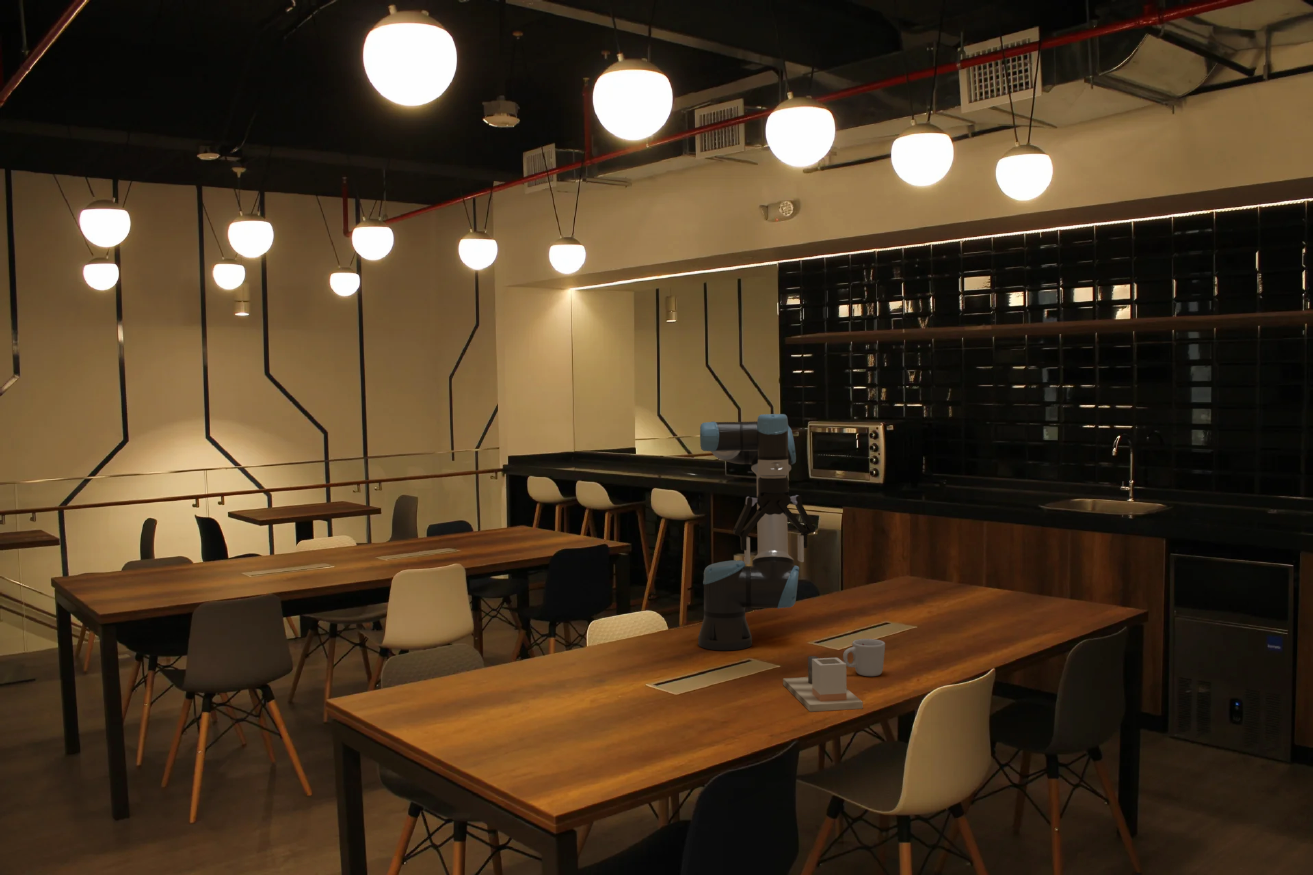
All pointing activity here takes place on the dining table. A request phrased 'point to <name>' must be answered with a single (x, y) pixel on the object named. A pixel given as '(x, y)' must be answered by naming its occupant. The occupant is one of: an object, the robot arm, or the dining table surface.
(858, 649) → the cup
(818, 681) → the sleeve
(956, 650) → the dining table surface
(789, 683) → the pin board
